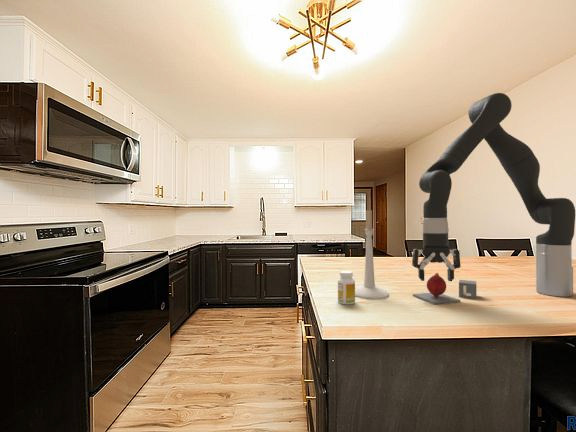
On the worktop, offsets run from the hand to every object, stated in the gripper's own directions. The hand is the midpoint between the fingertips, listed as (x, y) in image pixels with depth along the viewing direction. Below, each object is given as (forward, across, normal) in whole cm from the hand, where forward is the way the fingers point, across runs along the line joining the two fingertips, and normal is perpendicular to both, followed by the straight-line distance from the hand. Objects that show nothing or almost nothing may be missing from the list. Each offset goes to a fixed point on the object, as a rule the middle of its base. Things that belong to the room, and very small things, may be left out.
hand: (435, 280), depth 98 cm
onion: (+6, 0, 0) cm, 6 cm away
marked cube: (+6, -12, -5) cm, 14 cm away
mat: (+6, 0, 0) cm, 6 cm away
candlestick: (+6, +21, -3) cm, 22 cm away
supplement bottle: (+6, +29, +8) cm, 31 cm away
